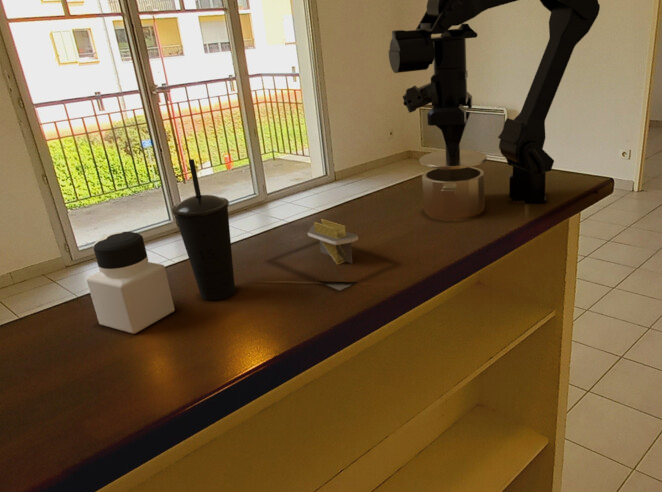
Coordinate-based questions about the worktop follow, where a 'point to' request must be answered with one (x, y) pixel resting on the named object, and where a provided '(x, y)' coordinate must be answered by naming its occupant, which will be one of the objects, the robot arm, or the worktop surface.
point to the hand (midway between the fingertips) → (453, 154)
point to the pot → (453, 192)
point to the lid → (453, 159)
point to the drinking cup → (207, 241)
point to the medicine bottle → (128, 284)
